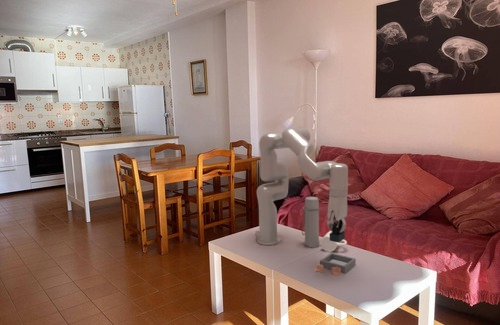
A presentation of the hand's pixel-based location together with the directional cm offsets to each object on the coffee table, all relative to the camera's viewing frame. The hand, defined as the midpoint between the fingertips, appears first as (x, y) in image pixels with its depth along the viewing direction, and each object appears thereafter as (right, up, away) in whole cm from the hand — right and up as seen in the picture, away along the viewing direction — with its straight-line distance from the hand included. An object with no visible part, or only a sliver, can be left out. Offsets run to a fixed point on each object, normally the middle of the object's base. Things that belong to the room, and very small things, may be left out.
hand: (337, 234), depth 163 cm
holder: (+2, -16, +9) cm, 18 cm away
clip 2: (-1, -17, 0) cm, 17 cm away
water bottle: (-6, -12, +35) cm, 38 cm away
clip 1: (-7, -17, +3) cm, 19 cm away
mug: (+5, -13, +29) cm, 32 cm away
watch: (0, -3, +1) cm, 3 cm away
